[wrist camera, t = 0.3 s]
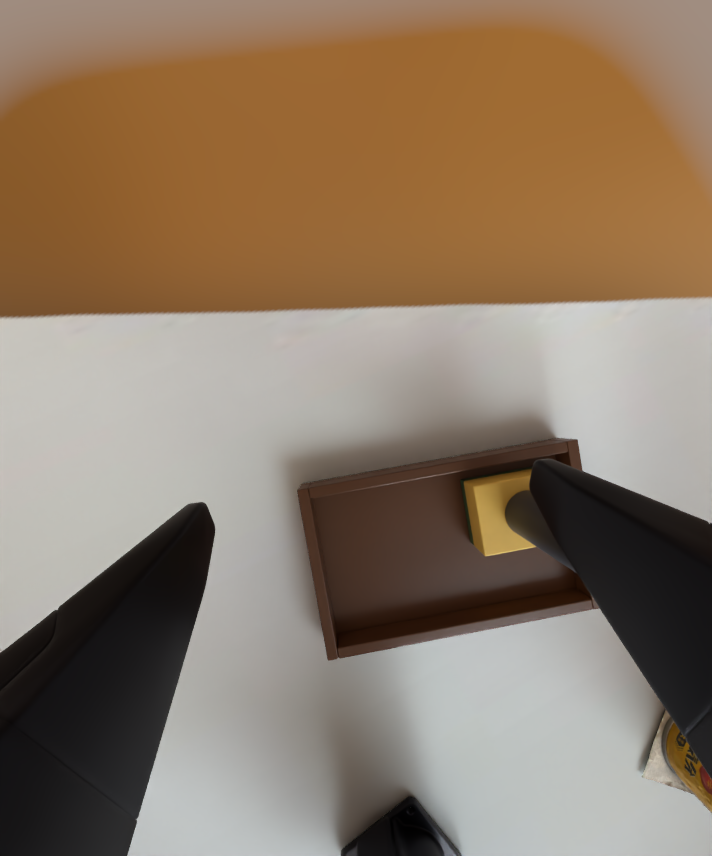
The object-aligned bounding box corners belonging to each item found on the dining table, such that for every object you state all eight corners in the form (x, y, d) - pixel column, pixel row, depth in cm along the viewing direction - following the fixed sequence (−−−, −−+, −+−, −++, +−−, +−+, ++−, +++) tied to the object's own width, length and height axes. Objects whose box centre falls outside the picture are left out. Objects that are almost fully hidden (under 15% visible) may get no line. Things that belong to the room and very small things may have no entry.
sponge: (546, 463, 23) (750, 507, 11) (556, 526, 23) (768, 634, 12) (459, 479, 23) (577, 540, 11) (470, 542, 23) (597, 668, 11)
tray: (557, 437, 24) (577, 439, 21) (581, 591, 24) (604, 607, 22) (301, 483, 23) (296, 490, 21) (329, 639, 23) (328, 661, 21)
